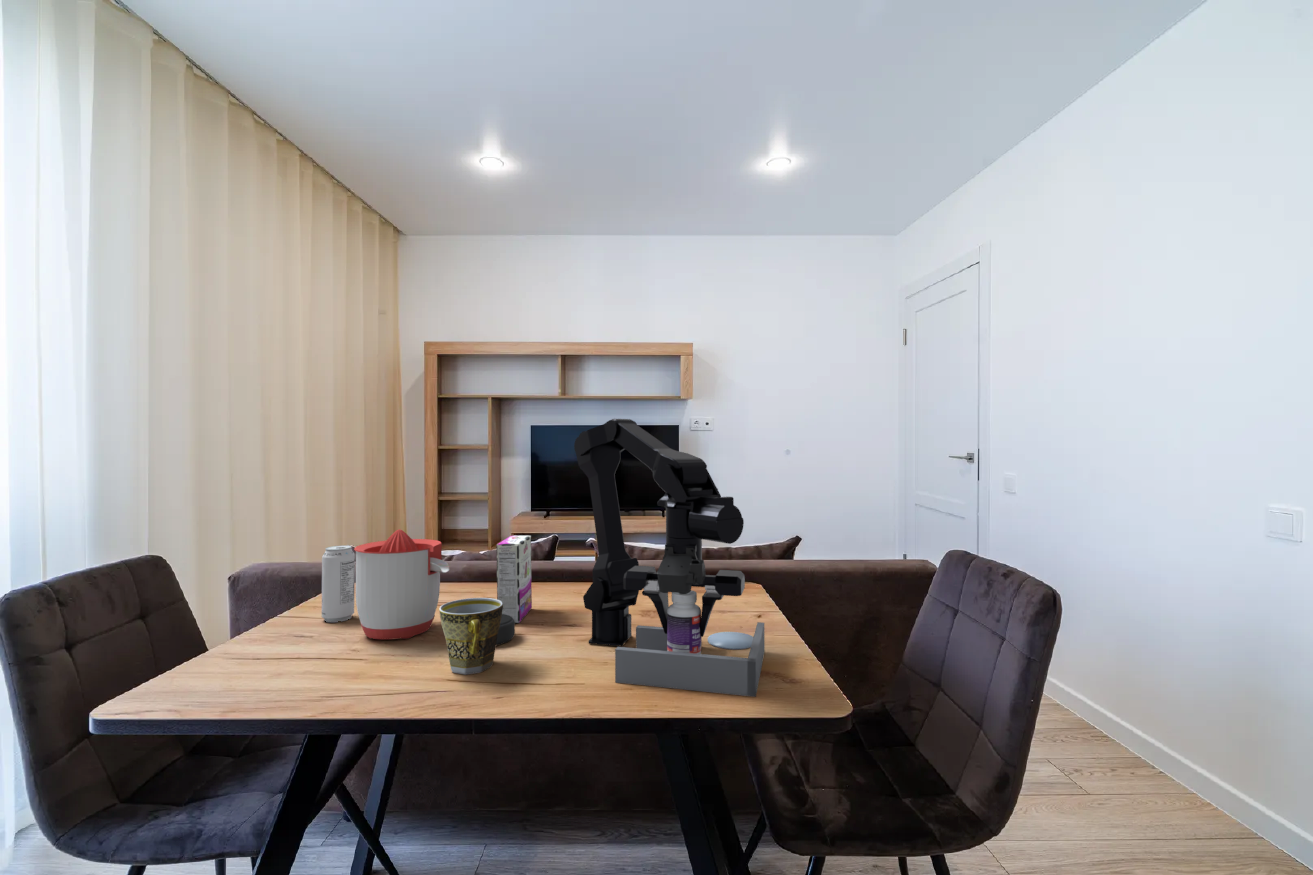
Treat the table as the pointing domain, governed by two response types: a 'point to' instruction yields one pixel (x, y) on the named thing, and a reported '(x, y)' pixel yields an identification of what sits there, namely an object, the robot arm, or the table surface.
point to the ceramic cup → (471, 633)
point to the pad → (731, 640)
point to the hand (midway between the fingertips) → (684, 634)
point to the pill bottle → (684, 624)
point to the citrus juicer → (398, 585)
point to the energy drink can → (338, 583)
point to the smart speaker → (506, 629)
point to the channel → (688, 665)
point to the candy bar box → (514, 576)
